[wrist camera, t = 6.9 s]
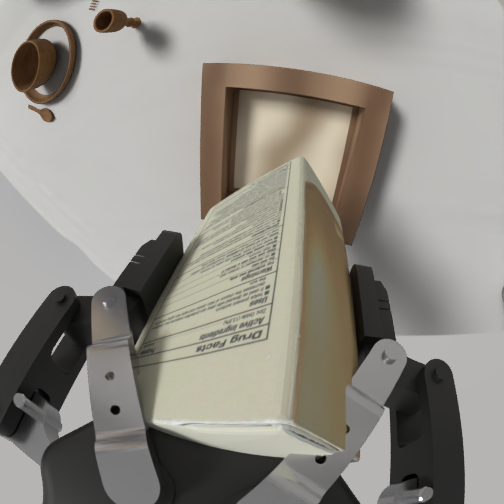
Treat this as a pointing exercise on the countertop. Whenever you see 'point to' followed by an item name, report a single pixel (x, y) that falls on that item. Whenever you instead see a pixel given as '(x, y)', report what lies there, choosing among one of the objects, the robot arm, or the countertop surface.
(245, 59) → the countertop surface
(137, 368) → the robot arm
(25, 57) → the place setting
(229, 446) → the skincare box
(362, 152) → the socket block
